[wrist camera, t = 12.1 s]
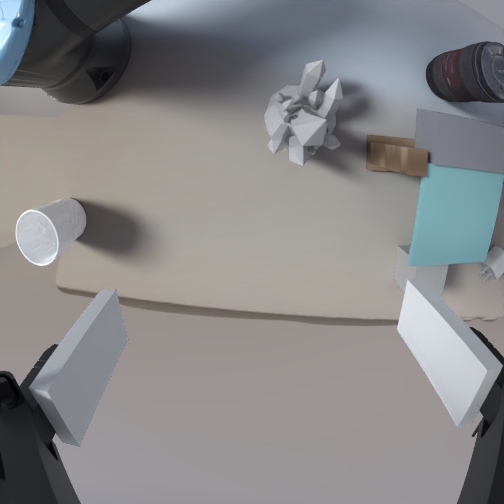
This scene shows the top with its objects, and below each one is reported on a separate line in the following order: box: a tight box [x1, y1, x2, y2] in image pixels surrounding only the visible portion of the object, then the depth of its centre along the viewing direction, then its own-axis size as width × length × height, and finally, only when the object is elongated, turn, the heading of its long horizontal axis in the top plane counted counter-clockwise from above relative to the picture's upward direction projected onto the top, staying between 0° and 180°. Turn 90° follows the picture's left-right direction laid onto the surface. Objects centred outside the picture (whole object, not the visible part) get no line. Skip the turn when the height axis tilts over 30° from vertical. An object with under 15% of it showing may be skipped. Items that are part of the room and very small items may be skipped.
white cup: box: [16, 198, 86, 266], centre depth 41 cm, size 8×8×10 cm
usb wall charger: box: [478, 245, 504, 284], centre depth 48 cm, size 4×7×4 cm, turn 135°
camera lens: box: [426, 41, 504, 103], centre depth 31 cm, size 8×8×15 cm
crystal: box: [264, 60, 343, 166], centre depth 34 cm, size 10×13×15 cm
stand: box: [366, 135, 504, 184], centre depth 37 cm, size 5×19×13 cm, turn 91°
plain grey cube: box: [393, 246, 449, 297], centre depth 46 cm, size 6×6×7 cm
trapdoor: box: [407, 109, 504, 267], centre depth 34 cm, size 19×13×5 cm
